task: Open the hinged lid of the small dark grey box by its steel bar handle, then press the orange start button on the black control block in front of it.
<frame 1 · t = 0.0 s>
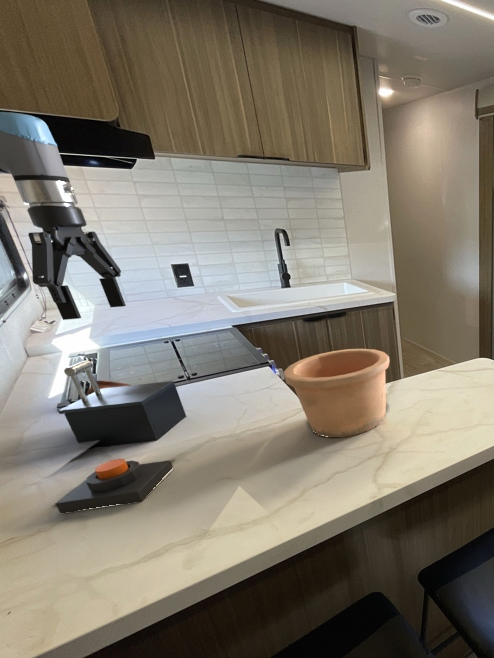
hand: (97, 312, 87), 28 cm above the countertop, tool pointing down, fingers open, 13 cm apart
start button: (112, 469, 70), point 4 cm above the countertop, slide at 0.1 cm
dark grey box: (137, 432, 94), on the countertop
machine lid: (113, 379, 89), point 13 cm above the countertop, hinge at 0.0°
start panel: (121, 490, 72), on the countertop
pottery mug: (112, 406, 110), on the countertop
pottery: (350, 421, 94), on the countertop
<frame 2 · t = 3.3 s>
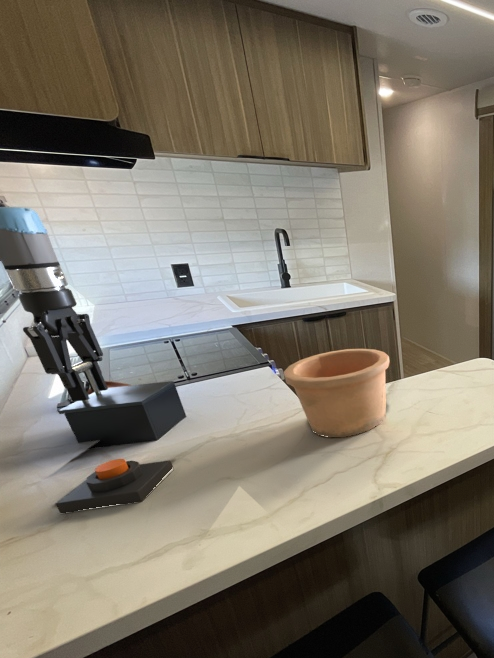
hand: (90, 394, 89), 10 cm above the countertop, tool pointing down, fingers closed on machine lid, 5 cm apart
machine lid: (113, 379, 89), point 13 cm above the countertop, hinge at 0.0°, touching gripper
everything else where it was.
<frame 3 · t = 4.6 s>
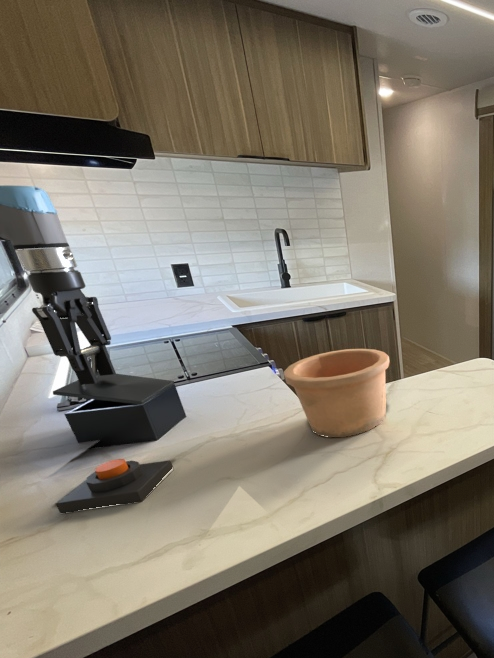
hand: (98, 378, 89), 14 cm above the countertop, tool pointing down, fingers closed on machine lid, 5 cm apart
machine lid: (117, 370, 89), point 15 cm above the countertop, hinge at 16.4°, touching gripper
everything else where it was.
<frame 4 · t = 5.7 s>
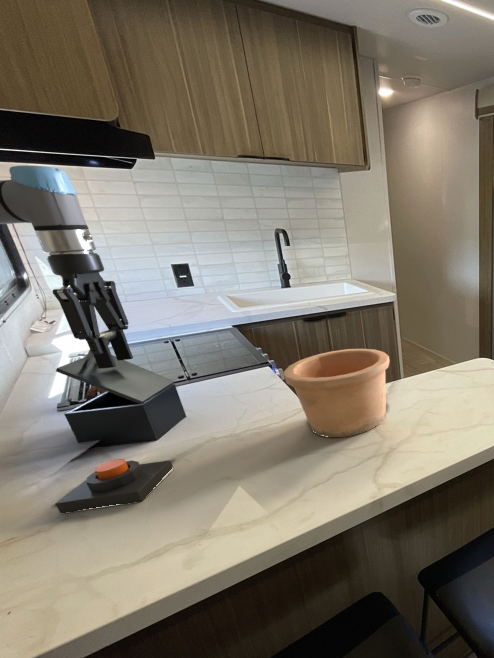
hand: (116, 363, 88), 17 cm above the countertop, tool pointing down, fingers closed on machine lid, 5 cm apart
machine lid: (127, 361, 89), point 17 cm above the countertop, hinge at 36.5°, touching gripper
everything else where it was.
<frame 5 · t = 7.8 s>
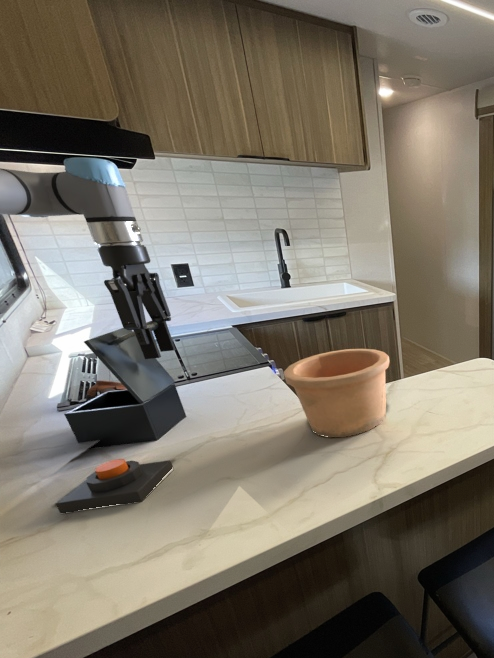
hand: (160, 354, 89), 18 cm above the countertop, tool pointing down, fingers closed on machine lid, 5 cm apart
machine lid: (150, 355, 89), point 18 cm above the countertop, hinge at 69.5°, touching gripper
everything else where it was.
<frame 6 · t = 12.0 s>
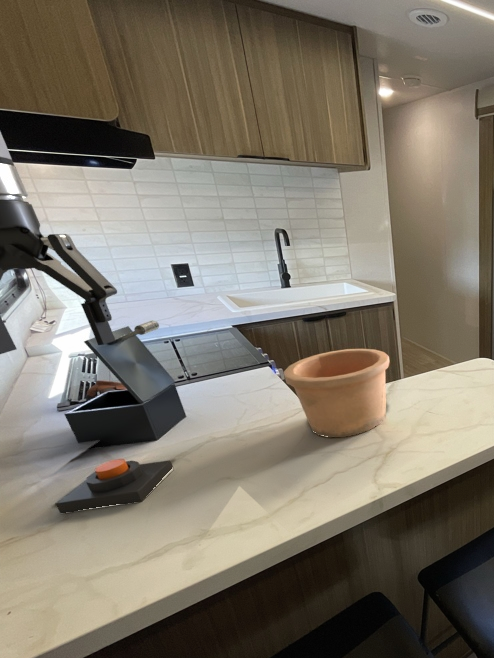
hand: (57, 347, 63), 27 cm above the countertop, tool pointing down, fingers open, 13 cm apart
machine lid: (150, 355, 89), point 18 cm above the countertop, hinge at 69.7°
everything else where it was.
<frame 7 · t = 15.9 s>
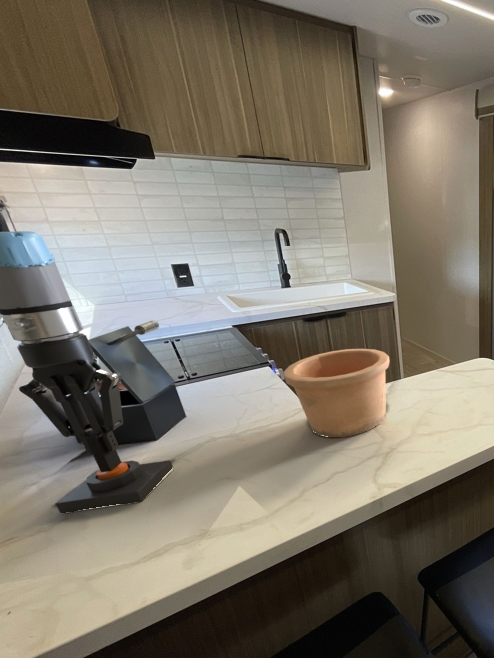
hand: (111, 467, 70), 5 cm above the countertop, tool pointing down, fingers closed
start button: (113, 472, 71), point 4 cm above the countertop, slide at -0.6 cm, touching gripper
everything else where it was.
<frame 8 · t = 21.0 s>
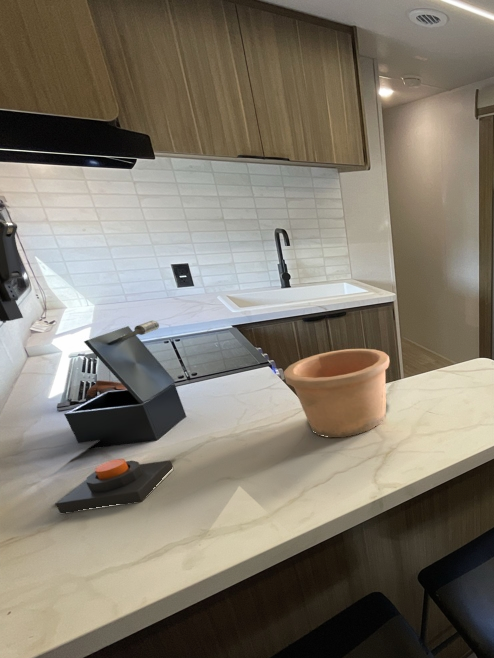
hand: (12, 319, 74), 29 cm above the countertop, tool pointing down, fingers closed
start button: (112, 469, 70), point 4 cm above the countertop, slide at 0.1 cm
everything else where it was.
at the end: machine lid at +70° (first picture: +0°); start button pushed in 1.0 cm at the most during the clip, back to where it started at the end; start button slide at 0.1 cm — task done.
